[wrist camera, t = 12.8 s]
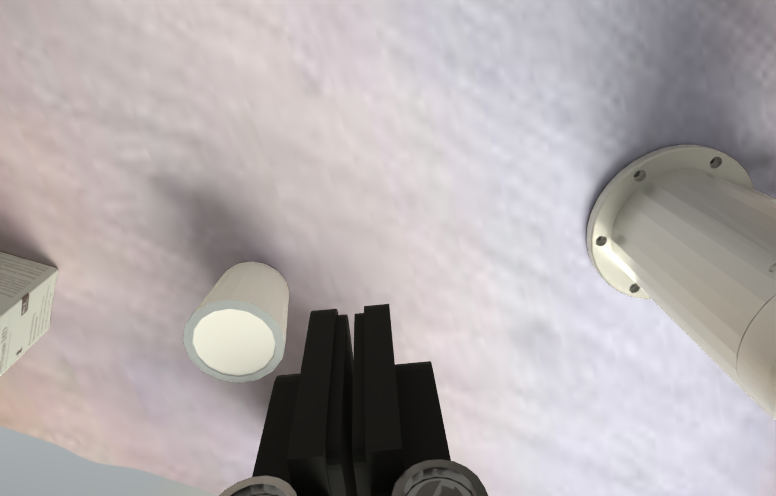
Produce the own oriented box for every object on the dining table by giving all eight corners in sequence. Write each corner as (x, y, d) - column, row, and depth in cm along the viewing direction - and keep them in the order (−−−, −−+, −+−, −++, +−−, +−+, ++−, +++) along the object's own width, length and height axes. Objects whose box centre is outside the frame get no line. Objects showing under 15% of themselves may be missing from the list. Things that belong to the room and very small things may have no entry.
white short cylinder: (215, 328, 42) (189, 384, 36) (205, 253, 39) (175, 300, 33) (298, 328, 43) (287, 384, 36) (295, 254, 40) (282, 300, 33)
